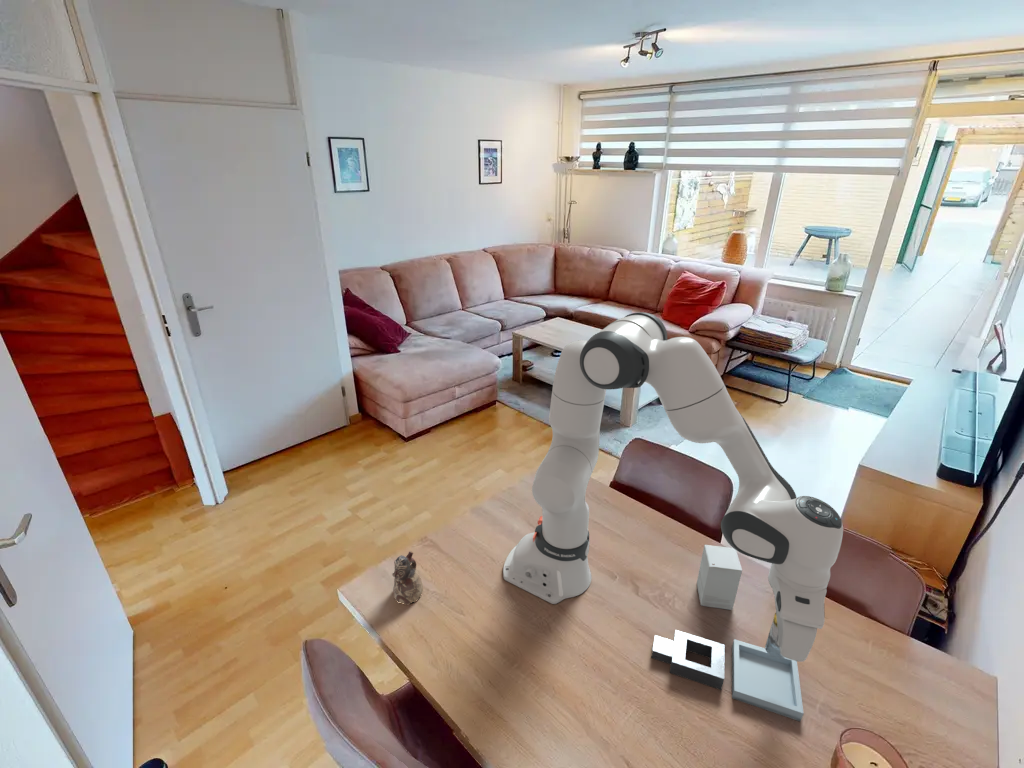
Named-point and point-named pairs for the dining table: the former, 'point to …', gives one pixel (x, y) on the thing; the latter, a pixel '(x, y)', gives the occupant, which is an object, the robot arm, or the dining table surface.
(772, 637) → the small capped bottle
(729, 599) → the supplement box
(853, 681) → the dining table surface
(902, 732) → the dining table surface
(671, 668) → the block
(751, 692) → the parts tray
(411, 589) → the figurine
